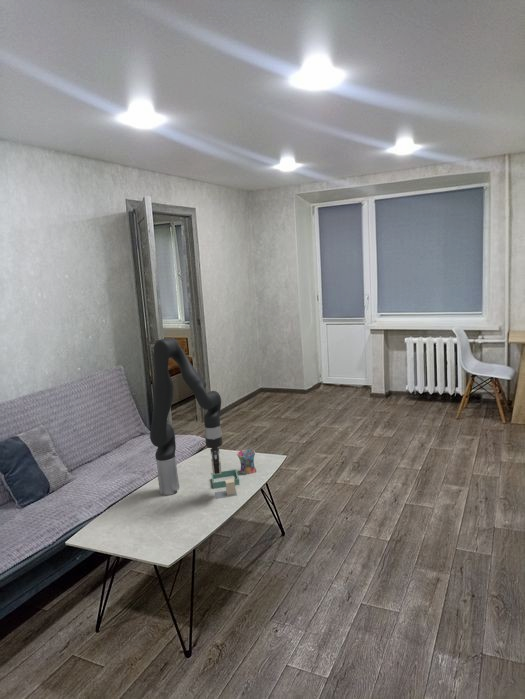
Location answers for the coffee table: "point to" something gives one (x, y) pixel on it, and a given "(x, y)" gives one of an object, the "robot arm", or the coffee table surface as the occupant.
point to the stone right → (230, 487)
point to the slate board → (223, 494)
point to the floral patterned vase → (247, 461)
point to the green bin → (224, 474)
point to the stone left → (219, 467)
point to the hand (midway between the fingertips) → (216, 471)
